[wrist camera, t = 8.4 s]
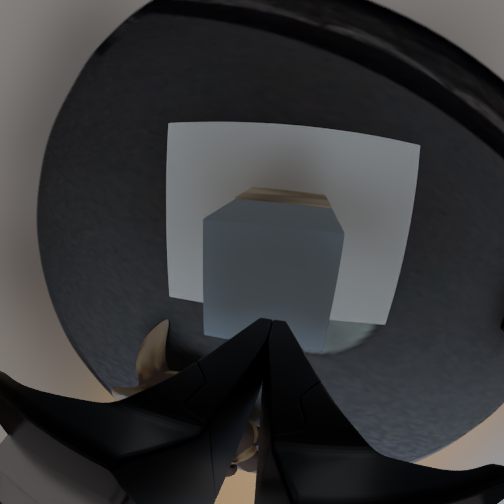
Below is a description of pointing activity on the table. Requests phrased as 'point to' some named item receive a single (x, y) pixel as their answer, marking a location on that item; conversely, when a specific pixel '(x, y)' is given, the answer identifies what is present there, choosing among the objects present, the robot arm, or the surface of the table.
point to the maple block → (285, 197)
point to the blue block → (270, 268)
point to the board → (302, 180)
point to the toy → (156, 370)
